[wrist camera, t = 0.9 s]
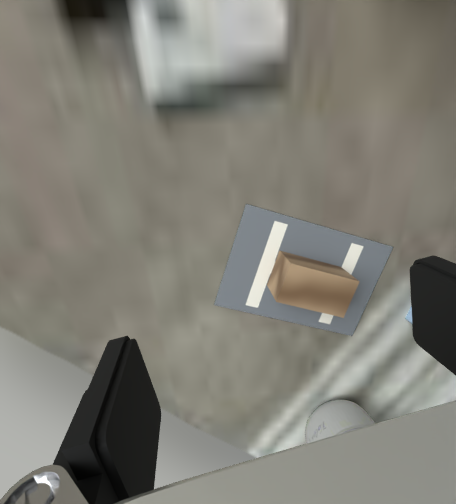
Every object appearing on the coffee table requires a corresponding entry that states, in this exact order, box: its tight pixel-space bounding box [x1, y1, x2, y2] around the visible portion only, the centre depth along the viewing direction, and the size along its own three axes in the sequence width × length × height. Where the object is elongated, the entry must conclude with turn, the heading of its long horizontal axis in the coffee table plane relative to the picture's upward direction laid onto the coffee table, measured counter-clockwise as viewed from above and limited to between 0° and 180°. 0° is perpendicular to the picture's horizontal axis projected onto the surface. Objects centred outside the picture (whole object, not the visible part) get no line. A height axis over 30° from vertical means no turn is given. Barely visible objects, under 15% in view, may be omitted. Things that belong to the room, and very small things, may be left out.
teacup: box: [305, 400, 375, 443], centre depth 48 cm, size 14×11×8 cm
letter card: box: [214, 204, 393, 336], centre depth 43 cm, size 14×21×1 cm, turn 73°
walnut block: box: [267, 250, 360, 318], centre depth 40 cm, size 5×9×5 cm, turn 73°
